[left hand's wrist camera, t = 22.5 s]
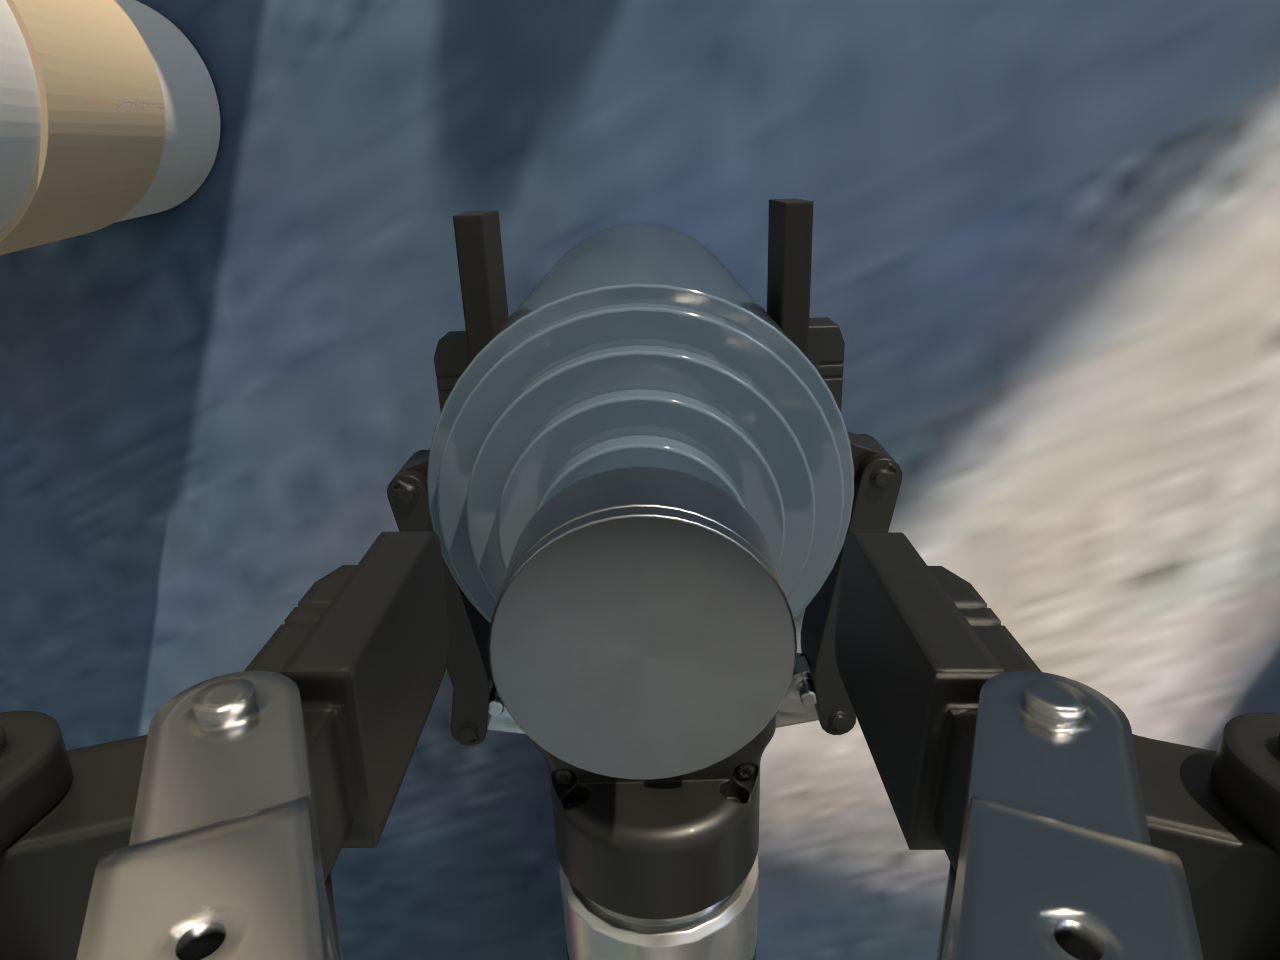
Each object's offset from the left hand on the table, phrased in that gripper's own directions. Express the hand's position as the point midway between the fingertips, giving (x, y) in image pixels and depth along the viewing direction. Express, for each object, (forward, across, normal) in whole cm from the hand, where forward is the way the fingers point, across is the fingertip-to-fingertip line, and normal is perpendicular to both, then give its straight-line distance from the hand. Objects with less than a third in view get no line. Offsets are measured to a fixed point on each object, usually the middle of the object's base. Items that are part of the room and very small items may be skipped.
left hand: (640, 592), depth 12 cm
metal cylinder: (-1, 0, 0) cm, 1 cm away
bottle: (+20, 0, 0) cm, 20 cm away
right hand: (+13, 0, -5) cm, 14 cm away
